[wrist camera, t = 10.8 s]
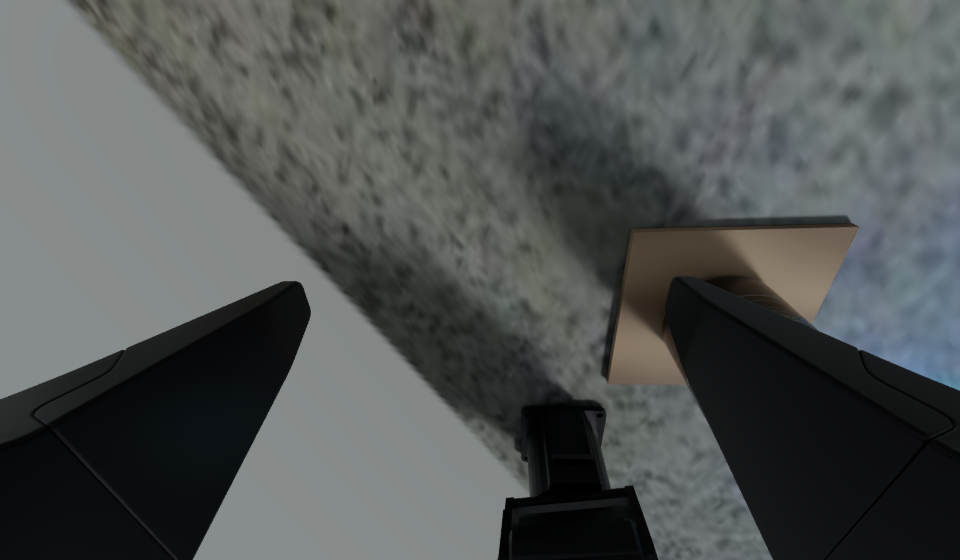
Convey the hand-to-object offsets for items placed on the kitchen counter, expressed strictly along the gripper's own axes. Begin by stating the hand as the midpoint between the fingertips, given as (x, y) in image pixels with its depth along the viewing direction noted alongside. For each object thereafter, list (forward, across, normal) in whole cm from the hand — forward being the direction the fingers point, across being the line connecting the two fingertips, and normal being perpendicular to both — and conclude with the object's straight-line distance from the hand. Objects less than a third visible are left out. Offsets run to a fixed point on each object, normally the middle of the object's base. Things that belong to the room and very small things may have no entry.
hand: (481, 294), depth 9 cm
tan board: (+13, -14, +10) cm, 21 cm away
